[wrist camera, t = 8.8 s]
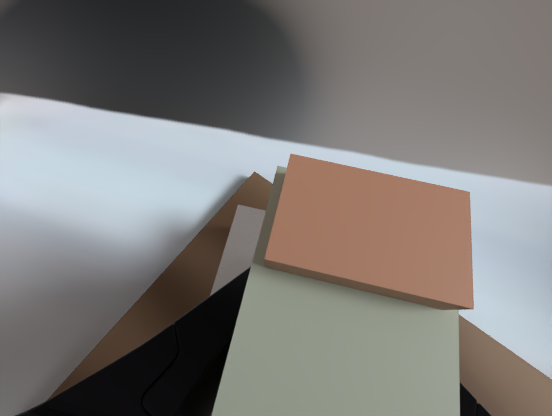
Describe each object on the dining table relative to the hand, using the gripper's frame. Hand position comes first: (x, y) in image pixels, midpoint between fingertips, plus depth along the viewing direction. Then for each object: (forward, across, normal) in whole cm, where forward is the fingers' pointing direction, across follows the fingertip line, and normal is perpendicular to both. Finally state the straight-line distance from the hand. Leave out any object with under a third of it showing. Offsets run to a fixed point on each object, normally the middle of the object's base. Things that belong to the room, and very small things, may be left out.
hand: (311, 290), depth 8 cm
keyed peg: (+4, 0, +6) cm, 7 cm away
